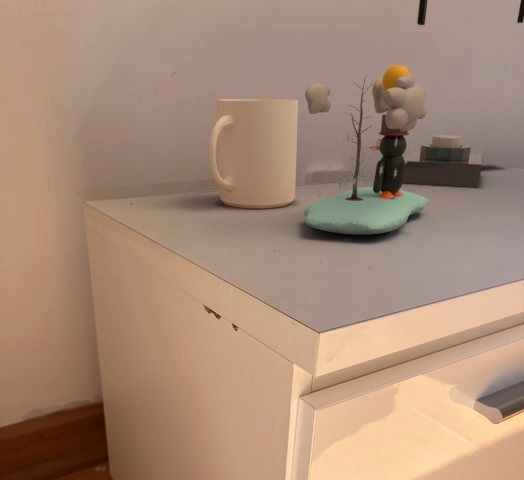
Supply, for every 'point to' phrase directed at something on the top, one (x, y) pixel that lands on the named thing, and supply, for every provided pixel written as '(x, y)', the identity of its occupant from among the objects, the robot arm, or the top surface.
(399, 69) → the penguin figurine
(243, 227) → the top surface
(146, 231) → the top surface
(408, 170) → the push button box
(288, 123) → the mug
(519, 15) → the robot arm
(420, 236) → the top surface
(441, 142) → the flush button
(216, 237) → the top surface
